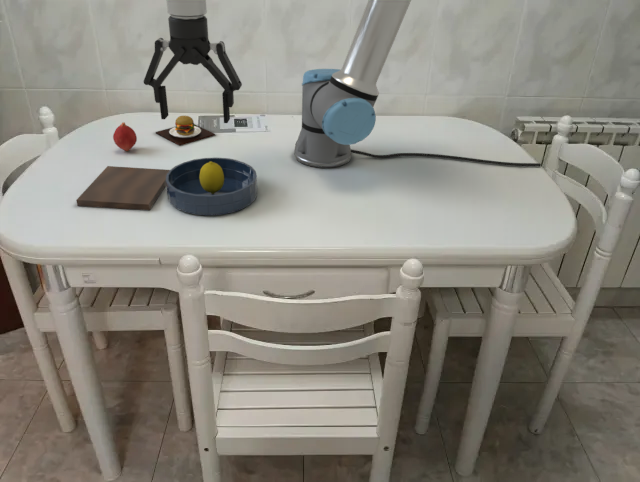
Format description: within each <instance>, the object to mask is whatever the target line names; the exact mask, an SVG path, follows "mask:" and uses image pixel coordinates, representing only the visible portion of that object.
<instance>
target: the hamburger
mask: <svg viewBox="0 0 640 482" xmlns="http://www.w3.org/2000/svg"><path fill="white" fill-rule="evenodd" d="M174 125H175V126H174V127H169V128H165V129H161V130H158V131H155V135H158V136H160V137H162V138H163V139H166V140H167V141H170V142H171V143H173V144H175V145H177V146H179V147H181V146H184V145H188V144H191V143H194V142H198V141H201V140H205V139H208V138H211V137H215V136H216V133H214V132H212V131H209V130H207V129H205V128H203V127H201V126H199V125H197V124H195V123H194V119H193V117H191V116H189V115H179V116H178V117H177V118H176V119H175V122H174Z"/></svg>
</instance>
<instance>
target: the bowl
mask: <svg viewBox="0 0 640 482" xmlns="http://www.w3.org/2000/svg"><path fill="white" fill-rule="evenodd" d="M210 161H212V162H214V163H216V164H218V165H219V166H220V167H221V168H222V170H223V173H224V184H223V187H222V188H221V189H220V190H219V191H217V192H215V193H214V194H212V193H210V192H207V191H206V190H204V189H203V188H202V186H201V183H200V179H199V176H200V170H201V168H202V167H203V165H205V164H206V163H209V162H210ZM169 170H170V171H169V172H168V173H167V175H166V186H165V188H166V194H167V196H166V197H167V200H168V202H169V203H170V205H172V207H174V208H175V209H177V210H180V211H182V212H184V213H188V214H191V215H195V216H196V215H197V216H210V217H211V216H221V215H228V214H232V213H235V212H238V211H241V210H243V209H245V208H246V207H248V206H249V205H251V204H252V203H253V202H254V201H255V200H256V199H257V196H258V175H257V171H256V170H255V168H254V167H253V166H252V165H250V164H248V163H246V162H244V161H240V160H239V159H233V158H227V157H202V158H196V159H191V160H188V161H184V162H182V163H181V162H180V163H178V164H177V165H175V166H174V167H172V168H171V169H169Z"/></svg>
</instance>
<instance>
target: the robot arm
mask: <svg viewBox="0 0 640 482" xmlns="http://www.w3.org/2000/svg"><path fill="white" fill-rule="evenodd" d="M411 1H412V0H367V2H366V5H365V8H364V11H363V13H362V16H361V18H360V21H359V23H358V26H357V27H356V31H355V33H354V36H353V39H352V41H351V44H350V46H349V49H348V50H347V51H348V52H347V54H346V56H345V59H344V62H343V65H342V66H341V69H338V68H315V69H309V70H307V71H305V72H304V73H303V75H302V83H301V86H302V91H301V93H302V95H301V129H300V131H299V135H298V138H297V140H296V142H295V144H294V145H295V146H294V151H293V154H294V159H295V160H296V161H297V162H299V163H301V164H303V165H305V166H309V167H313V168H320V169H323V168H324V169H327V168H329V169H330V168H336V167H340V166H344V165H346V164H347V163H349V162H350V161H351V158H352V154H356V155H361V156H367V157H369V158H374V159H389V158H396V157H428V158H440V159H450V160H458V161H467V162H474V163H481V164H482V163H483V164H489V165H490V164H491V165H500V166H508V167H509V166H510V167H541V166H542V165H541V163H540V162H537V163H536V162H534V163H533V162H509V161H497V160H490V159H489V160H488V159H482V158H481V159H480V158H472V157H465V156H457V155H448V154H439V153H425V152H424V153H423V152H399V153H398V152H397V153H389V154H374V153H369V152H366V151H361V150H357V149H356V150H355V149H351V145H357V143H360V142H363V140H366V138H368V136H370V134H371V133H372V131H373V130H374V128H375V126H376V121H377V120H376V119H377V117H376V116H377V115H376V111H375V107H374V106H375V104H376V102H377V99H378V97H379V94H380V92H379V90H378V87H377V83H378V80H379V78H380V75H381V74H382V71H383V68H384V67H385V63H386V61H387V59H388V57H389V54H390V52H391V50H392V47H393V44H394V42H395V40H396V37H397V35H398V33H399V30H400V28H401V26H402V23H403V20H404V18H405V17H406V14H407V12H408V9H409V7H410V5H411ZM166 7H167V8H166V9H167V14H169V16H168V19H167V20H168V30H169V40H166V39H165V38H162V37H159V38H157V39H156V40H155V41H154V52H153V55H152V58H151V60H150V63H149V65H148V68H147V71H146V73H145V76H144V78H143V85H145V86H150V87H152V89H153V96H154V101H155V103H156V104H159V110H160V119H161V120H166V119H167V118H168V117H169V107H168V97H167V89H166V85H163V83H164V81H165V80H166V79H167V78H168V77H169V75H170V74H171V72H173V69H174V68H175V67H176V66H177V65H178V63H179V62H180V63H181V64H182V65H190V64H191V65H193V66H198V65H200V64H201V66H203V68H204V69H206V70H207V71H208V72H209V73H210V75H211V76H212V77H213V78H214V79H215V80H216V81H217V83H218V84H219V85H220V86H221V87H222V89H223V91H222V94H221V95H222V114H223V124H228V123H229V121H230V120H231V114H230V112H231V111H230V108H233V106H234V103H235V99H234V98H235V97H234V92H235V91H239V90H240V89H241V88H242V85H243V83H242V81H241V79H240V77H239V76H238V73H237V71H236V70H235V69H236V68H235V67H234V66H233V63H232V61H231V60H230V58H229V56H228V53H227V52H226V46H225V45H226V44H225V43H224V41H222V40H220V41H218V42H210V40H209V27H208V17H207V16H206V14H207V12H208V10H207V0H166ZM168 49H169V50H170V51H171V52H172V54H173V56H172V58H171V59H170V60H169V61H168V63H167V64H166V65H165V67H164V68H163V69H162V71H161V73H160V74H159V75H158V76H157V78H155V75H156V72H157V71H158V68H159V65H160V62H161V61H162V57H163V55H164V52H165V51H167V50H168ZM211 50H212V51H213V53H214V54H215V55H217V58H218V60H219V62H220V64H221V66H222V68H223V70H224V72H225V73H226V75H227V76H226V75H225V74H224V73H223V71H222V70H221V69H220V68H219V67H218V65H216V63H215V62H214V61H213V58H212V57H211V56H210V55H209V53H210V51H211Z"/></svg>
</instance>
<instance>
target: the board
mask: <svg viewBox="0 0 640 482" xmlns="http://www.w3.org/2000/svg"><path fill="white" fill-rule="evenodd" d="M170 170H171V169H163V168H162V169H160V168H146V167H144V168H143V167H132V166H131V167H130V166H129V167H128V166H115V165H114V166H111V165H107V166H106V167H105V168H104V169H103V171H102V172H100V174H99V175H97V177H96V178H94V180H93V181H92V182H91V184H89V186H87V188H86V189H85V190H84V191H83V192H82V193H81V194H80V195H79V197H77V199H76V200H75V201H76V205H77V207H89V208H103V209H119V210H120V209H121V210H133V211H134V210H138V211H151V209H152V207H153V206H154V205H155V203H156V201H157V200H158V198H159V197H160V195H161V194H162V192H163V191H164V189H165V188H166V175H167V173H168V172H169V171H170Z"/></svg>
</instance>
